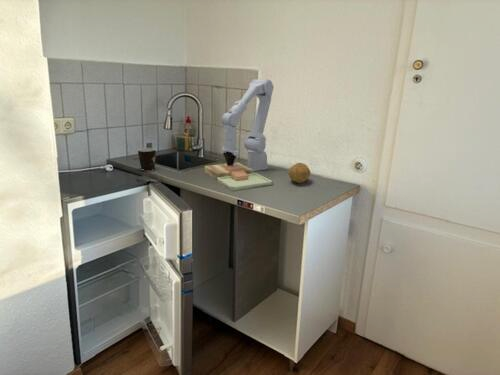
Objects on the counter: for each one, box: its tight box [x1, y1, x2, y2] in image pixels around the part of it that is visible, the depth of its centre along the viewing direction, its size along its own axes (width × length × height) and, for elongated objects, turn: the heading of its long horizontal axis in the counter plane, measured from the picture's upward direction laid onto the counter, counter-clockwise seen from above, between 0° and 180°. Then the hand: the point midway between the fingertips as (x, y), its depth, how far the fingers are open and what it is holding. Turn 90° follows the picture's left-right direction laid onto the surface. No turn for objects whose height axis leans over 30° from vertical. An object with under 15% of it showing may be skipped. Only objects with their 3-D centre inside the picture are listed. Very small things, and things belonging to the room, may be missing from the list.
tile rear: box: [225, 165, 242, 173], centre depth 178 cm, size 6×6×2 cm
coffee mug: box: [137, 147, 157, 171], centre depth 188 cm, size 12×9×10 cm
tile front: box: [231, 170, 248, 181], centre depth 174 cm, size 6×6×2 cm
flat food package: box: [204, 162, 254, 180], centre depth 184 cm, size 18×16×3 cm
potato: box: [288, 162, 311, 184], centre depth 172 cm, size 10×14×8 cm
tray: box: [216, 172, 274, 192], centre depth 170 cm, size 20×16×2 cm
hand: (230, 167), depth 182 cm, fingers closed
